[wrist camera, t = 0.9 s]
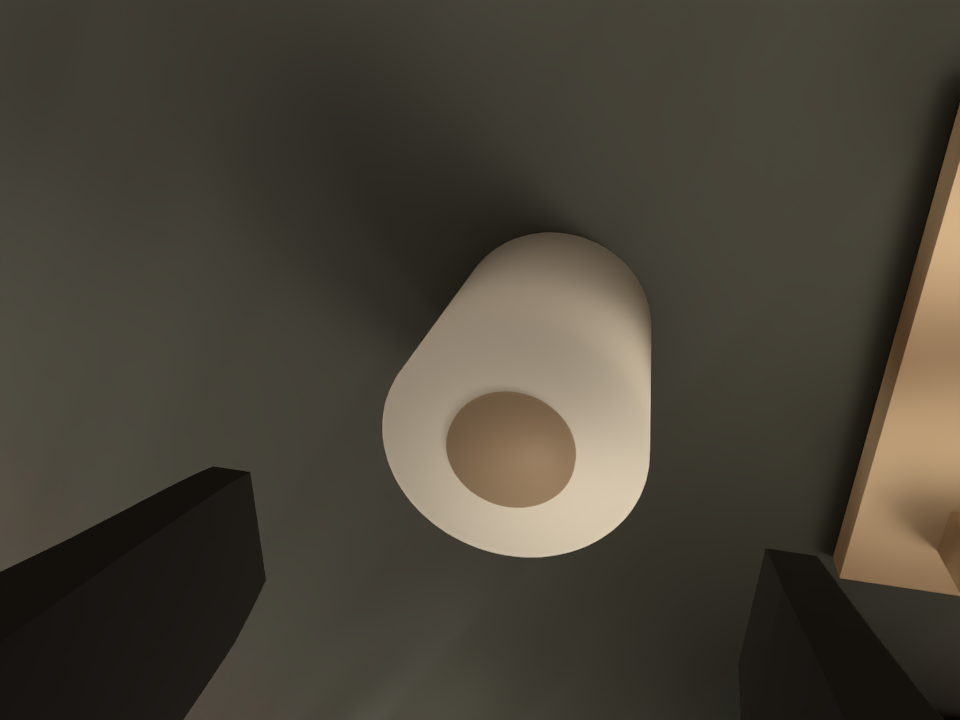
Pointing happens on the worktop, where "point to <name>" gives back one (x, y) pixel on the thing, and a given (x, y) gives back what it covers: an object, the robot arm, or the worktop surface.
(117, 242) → the worktop surface
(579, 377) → the paper roll
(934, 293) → the clip holder
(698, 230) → the worktop surface
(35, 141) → the worktop surface
